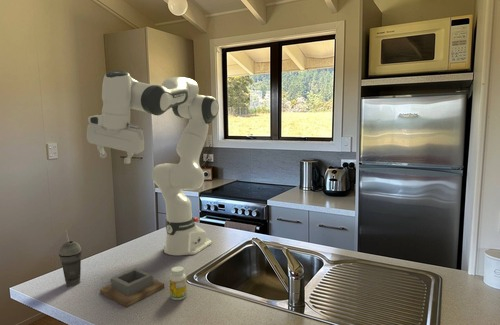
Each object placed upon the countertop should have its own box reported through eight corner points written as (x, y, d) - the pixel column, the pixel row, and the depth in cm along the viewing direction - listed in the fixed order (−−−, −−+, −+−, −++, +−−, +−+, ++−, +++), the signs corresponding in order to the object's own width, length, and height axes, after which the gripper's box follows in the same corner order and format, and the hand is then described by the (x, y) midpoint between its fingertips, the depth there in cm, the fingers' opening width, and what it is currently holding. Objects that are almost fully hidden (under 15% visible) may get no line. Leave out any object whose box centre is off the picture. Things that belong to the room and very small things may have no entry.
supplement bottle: (188, 298, 111) (187, 270, 109) (172, 302, 109) (170, 273, 107) (184, 290, 116) (183, 264, 114) (169, 294, 113) (167, 267, 112)
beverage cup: (74, 289, 117) (70, 233, 115) (56, 287, 119) (51, 232, 116) (88, 279, 124) (84, 227, 122) (71, 277, 126) (67, 226, 123)
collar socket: (138, 276, 127) (137, 263, 126) (164, 287, 118) (163, 274, 117) (100, 292, 115) (99, 279, 114) (126, 307, 106) (125, 292, 105)
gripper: (149, 125, 113) (147, 164, 117) (96, 114, 117) (96, 152, 121) (138, 128, 107) (136, 169, 111) (83, 116, 111) (83, 156, 115)
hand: (115, 160), depth 116 cm, fingers open, 8 cm apart
